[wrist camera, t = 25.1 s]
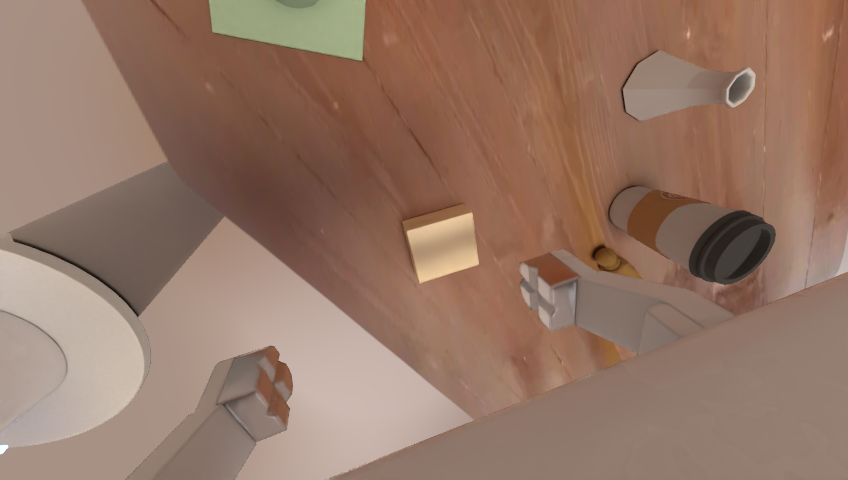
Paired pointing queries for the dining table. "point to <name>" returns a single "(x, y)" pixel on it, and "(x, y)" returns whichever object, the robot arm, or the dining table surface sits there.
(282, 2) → the tumbler
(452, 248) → the plate
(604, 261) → the tap handle
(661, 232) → the coffee cup
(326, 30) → the mat
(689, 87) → the flask
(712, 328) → the robot arm
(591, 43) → the dining table surface
